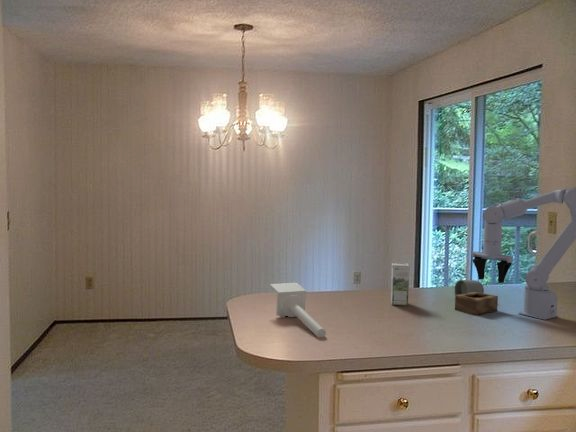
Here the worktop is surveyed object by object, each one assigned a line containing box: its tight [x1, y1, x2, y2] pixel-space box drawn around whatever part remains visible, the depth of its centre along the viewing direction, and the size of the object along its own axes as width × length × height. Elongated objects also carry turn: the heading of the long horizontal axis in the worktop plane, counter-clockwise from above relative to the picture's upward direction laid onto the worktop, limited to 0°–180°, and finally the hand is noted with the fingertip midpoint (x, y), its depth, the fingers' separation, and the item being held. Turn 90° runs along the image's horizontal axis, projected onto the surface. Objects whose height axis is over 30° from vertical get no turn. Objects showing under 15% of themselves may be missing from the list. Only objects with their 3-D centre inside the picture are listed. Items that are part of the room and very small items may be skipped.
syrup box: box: [390, 262, 410, 307], centre depth 195 cm, size 6×6×14 cm
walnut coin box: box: [454, 292, 499, 316], centre depth 188 cm, size 11×9×5 cm
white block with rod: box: [269, 282, 327, 338], centre depth 169 cm, size 9×9×32 cm
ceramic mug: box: [454, 279, 485, 296], centre depth 205 cm, size 11×8×8 cm
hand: (491, 280), depth 188 cm, fingers open, 7 cm apart
